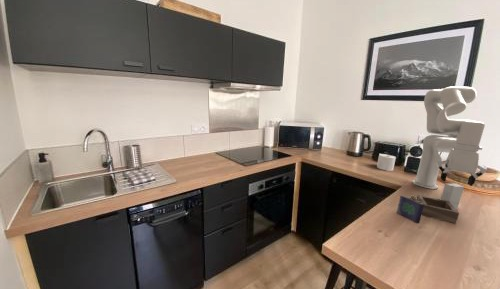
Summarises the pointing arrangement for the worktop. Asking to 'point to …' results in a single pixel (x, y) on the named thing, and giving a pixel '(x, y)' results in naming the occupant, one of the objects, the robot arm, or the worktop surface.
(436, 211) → the holder
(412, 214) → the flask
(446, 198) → the skincare box
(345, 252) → the worktop surface
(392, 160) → the toilet tissue
